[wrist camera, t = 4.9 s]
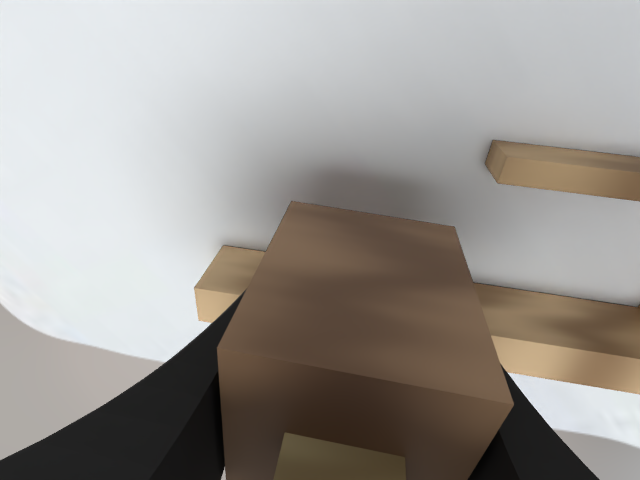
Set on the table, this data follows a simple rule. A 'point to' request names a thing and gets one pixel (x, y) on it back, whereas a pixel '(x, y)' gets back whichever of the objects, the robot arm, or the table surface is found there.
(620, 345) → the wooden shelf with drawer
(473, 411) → the cabinet
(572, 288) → the table surface
